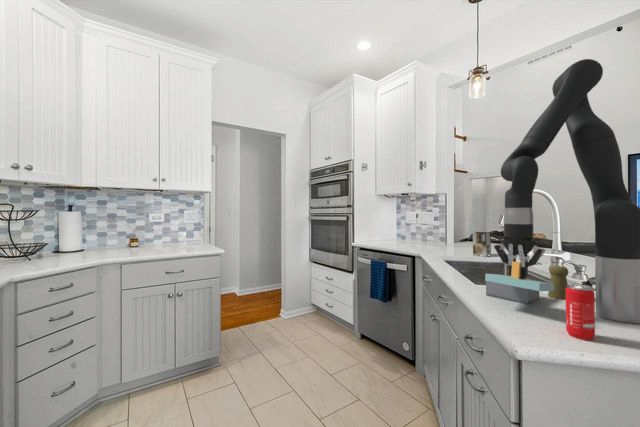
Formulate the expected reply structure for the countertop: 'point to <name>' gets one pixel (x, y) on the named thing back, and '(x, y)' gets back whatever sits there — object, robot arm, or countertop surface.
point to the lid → (519, 280)
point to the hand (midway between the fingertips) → (518, 277)
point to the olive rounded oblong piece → (558, 282)
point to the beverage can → (580, 312)
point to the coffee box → (481, 243)
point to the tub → (511, 292)
